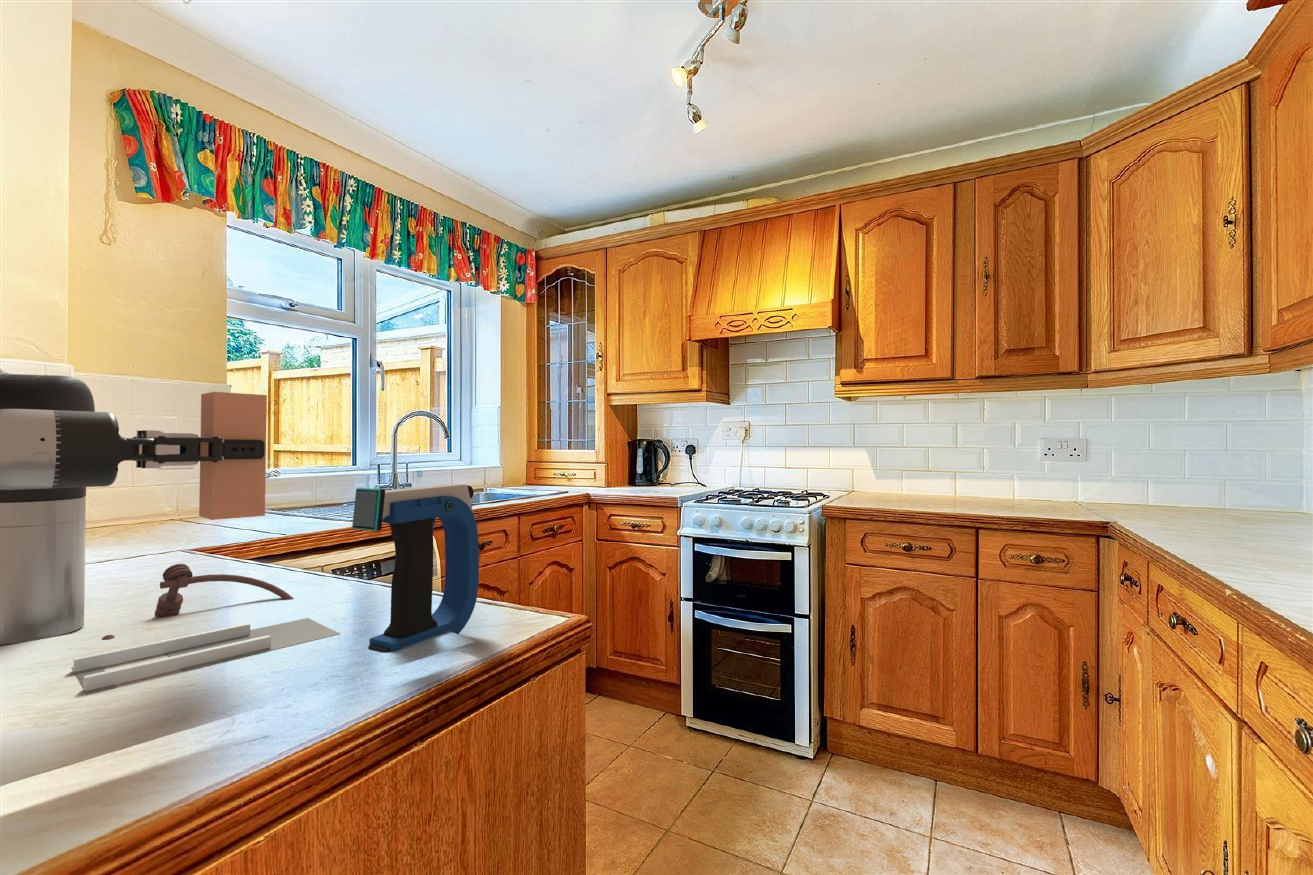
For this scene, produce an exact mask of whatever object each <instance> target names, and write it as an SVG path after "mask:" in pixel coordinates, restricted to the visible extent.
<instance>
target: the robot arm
mask: <svg viewBox="0 0 1313 875" xmlns="http://www.w3.org/2000/svg"><path fill="white" fill-rule="evenodd" d="M93 396H94V395H93V394H92V391H91V388H89V386H88V385H87V384H86V382H84V381H83V380H81V379H80V378H77V377H75V376H71V375H70V376H68V375H58V374H57V375H56V374H53V375H52V374H50V375H49V374H26V373H25V374H22V373H21V374H18V373H17V374H15V373H9V372H6V371H4V370H2V369H1V368H0V645H7V644H8V645H10V644H19V643H26V642H33V641H38V640H44V639H49V638H52V637H58V636H61V635H65V634H69V633H71V632H74V631H77V630H78V629H81V628H83V627H84V625H85V596H86V595H85V593H86V592H85V591H86V590H85V589H86V587H85V586H86V584H85V583H86V582H85V581H86V526H87V525H86V523H87V522H86V521H87V519H86V506H87V505H86V503H87V502H86V500H87V488H94V487H95V488H96V487H97V488H100V487H102V488H103V487H109V486H111V485H112V484H114V483H115V482H116V480H117V477H118V472H119V464H120V463H122V462H125V461H126V462H127V461H133V462H135V468H136V469H137V468H140V469H160V468H163V467H166V466H168V467H169V466H171V467H174V466H175V467H176V466H195V465H197V464H198V463H200V461H212V462H221V461H222V460H225V459H262V458H263V457H264V446H265V444H264V441H262V440H236V439H225V438H221V437H213V438H201V436H199V435H198V434H196V433H190V432H189V433H187V432H185V433H184V432H179V433H177V432H165V431H163V430H151V429H149V430H146V429H145V430H143V429H142V430H136V436H133V437H123V436H121V435H120V433H119V432H120V426H119V422H118V418H117V417H116V415H114V414H113V413H112V412H109V411H96V410H95V409H96V406H95V401H94V397H93ZM201 442H210V443H208V456H200V443H201Z"/></svg>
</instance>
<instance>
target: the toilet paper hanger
mask: <svg viewBox="0 0 1313 875" xmlns="http://www.w3.org/2000/svg"><path fill="white" fill-rule="evenodd" d="M162 579H163V581H160V582H159V588H160V590H163V589H168V591H167V592H164V593H163V594H161V595H160V596H159V597H158V600H157V604H156V607H155V610H154V617H155V618H157V619H162V618H169V617H172V616H178V615H180V612H181V611H180V610H181V609H182V604H183V603H184V597H183V594H181V593H180V592H179V590H180V589H182V588H183V589H184V588H188V586H189V585H191V584H199V583H207V582H228V583H229V582H231V583H240V584H246V585H249V586H250V585H251V586H253V587H257V588H260V589H263V590H266V591H269V592H270V593H272V594H274V595H277V597H280V598H281V599H282V600H287V601H290V600H295V598H294V597H293V596H292V595H290V594H289V593H288V592H286V590H283V589H282V588H279V587H278V586H276V585H274V584H271V583H269V582H266V581H264V580H262V579H257V578H253V577H250V576H244V575H237V574H222V573H220V574H203V575H194V576H193V572H192V570H191V568H190V566H189V565H187V564H186V563H177V564H172V565H170V566H168V567H167V568H166V569H165V570H164V572H163V573H162ZM113 639H115V635H113V634H107V635H104V636H103V637H102V638H101V640H102V641H110V640H113ZM101 640H100V641H101Z"/></svg>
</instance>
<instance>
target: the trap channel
mask: <svg viewBox="0 0 1313 875" xmlns="http://www.w3.org/2000/svg"><path fill="white" fill-rule="evenodd" d="M338 635H341V632H338V631H336V630H334V629H331V628H329V627H327V625H323V624H322V623H320V622H317V621H315V620H313V619H311V618H309V617H306V618H305V617H304V618H302V619H301V618H300V619H296V620H290V621H287V622H282V623H277V624H272V625H267V626H263V627H258V628H252V629H251V623H249V622H246V623H242V624H237V625H233V626H232V625H231V626H227V627H223V628H218V629H211V630H207V631H202V632H198V633H192V634H188V635H182V636H177V637H173V638H168V639H163V640H158V641H152V642H147V643H143V644H139V645H133V646H128V647H121V648H118V649H113V650H112V649H111V650H107V651H102V652H98V653H93V654H88V655H84V656H83V655H82V656H79V657H73V659H72V660H73V666H72V667H71V669H72V671H73V673H74V674H75V677H76V678H77V680H78V682H79V683H80V685H81V687H82V689H83V691H84V693H85V694H86V696H88V695H93V694H97V693H101V692H105V691H110V690H115V689H117V686H116V685H120V684H123V683H127V682H128V683H129V682H131V681H136V680H140V679H145V678H149V677H153V676H157V675H161V674H165V673H171V672H175V671H179V670H181V671H182V672H188V671H193V670H196V669H200V668H201V669H202V668H205V667H210V666H213V665H217V664H221V663H222V664H223V663H226V662H231V661H234V660H238V659H242V658H247V657H250V656H255V655H258V654H259V655H261V654H264V653H268V652H270V651H271V652H272V651H275V650H276V651H277V650H279V649H284V648H288V647H293V646H297V645H300V644H306V643H309V642H313V641H317V640H322V639H326V638H330V637H333V636H338ZM163 654H164V655H166V656H167V657H164V658H160V659H154V660H150V661H145V662H141V663H137V664H132V665H126V666H123V667H119V668H114V669H113V668H112V669H109V670H105V669H104V667H107V666H113V665H115V664H121V663H126V662H130V661H135V660H139V659H140V660H141V659H144V658H148V657H149V658H150V657H154V656H158V655H163Z"/></svg>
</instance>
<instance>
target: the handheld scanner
mask: <svg viewBox="0 0 1313 875" xmlns="http://www.w3.org/2000/svg"><path fill="white" fill-rule="evenodd" d="M474 492H475V491H474V489H473V487H472V485H470V484H469V485H468V484H464V483H450V484H449V483H448V484H436V485H427V486H426V485H424V486H417V487H407V488H406V487H405V488H395V489H385V488H368V487H367V488H365V487H363V488H362V487H358V488H356V489H355V496H354V497H355V498H354V507H353V515H352V516H353V517H352V526H351V527H352V529H353V530H361V531H362V530H363V531H371V532H379V531H382V530H383V529H382V527H383V524H388V525H389V527H390V533H391V537H392V540H393V544H394V549H395V550H394V551H395V552H394V553H395V555H394V556H395V558H394V567H393V568H394V569H393V573H392V576H391V588H390V589H391V590H390V592H391V593H390V623H389V625H388V626H387V627H386V629H384V632H383V633H381V634H378V635H376V636H373V637H372V636H371V637H370V638H369V642H368V643H369V645H368V646H367V648H368V650H369V651H373V652H379V653H388V652H393V653H394V652H397V651H400V650H403V649H405V648H407V647H410V646H413V645H415V644H419V643H422V642H423V641H426V640H427V641H428V640H429V639H431V638H434V637H436V636H440V635H442V634H445V633H447V632H451V633H454V634H456V635H459V634H460V633H461V632H462V631H463V629H464V628H465V627H466V625H467V623H468V622H469V621H470V619H471V618H472V614H473V612H474V610H475V606H476V603H477V598H478V592H479V584H480V581H479V580H480V546H479V542H480V541H479V532H478V525H477V520H476V518H475V514H474V511H473V510H474V509H473V503H472V501H471V499H472V498H473V496H474ZM437 518H438V519H439V520H440V522H441V524H442V528H443V532H444V552H445V553H444V557H445V558H444V559H445V560H444V564H445V565H444V566H445V567H444V574H445V575H444V588H443V594H442V598H441V601H440V603H439V605H438V606H437V608H436V610H435V611H433V613H432V610H433V607H432V606H433V581H434V580H433V579H434V527H435V526H434V525H435V522H436V521H437V520H436V519H437Z"/></svg>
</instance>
